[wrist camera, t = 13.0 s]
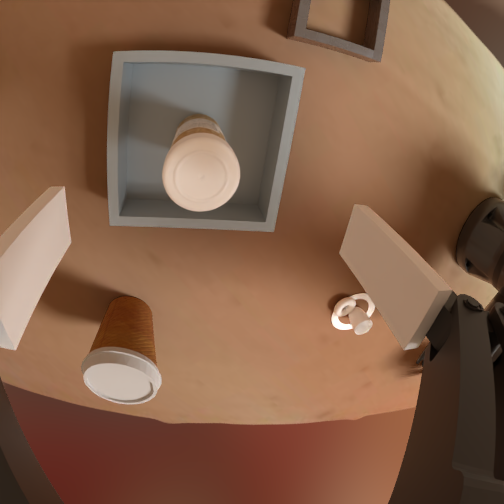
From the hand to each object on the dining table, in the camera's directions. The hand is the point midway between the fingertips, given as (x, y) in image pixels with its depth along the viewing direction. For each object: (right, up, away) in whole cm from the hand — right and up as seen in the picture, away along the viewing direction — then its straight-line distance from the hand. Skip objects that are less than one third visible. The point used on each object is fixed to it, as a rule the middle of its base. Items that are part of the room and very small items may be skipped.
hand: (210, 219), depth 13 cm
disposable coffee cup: (-15, -10, +26) cm, 32 cm away
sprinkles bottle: (-3, +10, +15) cm, 18 cm away
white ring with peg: (+19, -8, +33) cm, 39 cm away
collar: (+10, +23, +10) cm, 28 cm away
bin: (-4, +10, +16) cm, 19 cm away
